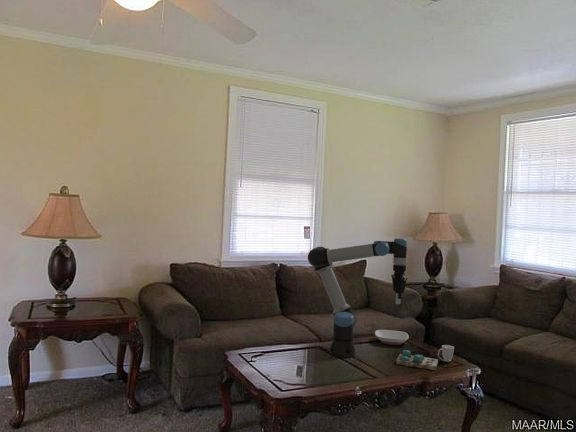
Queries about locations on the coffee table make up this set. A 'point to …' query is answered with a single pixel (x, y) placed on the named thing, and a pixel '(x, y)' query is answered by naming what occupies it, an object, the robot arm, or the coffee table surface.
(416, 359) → the button
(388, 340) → the bowl
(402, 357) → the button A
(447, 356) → the cup
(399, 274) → the robot arm
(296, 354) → the coffee table surface
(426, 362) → the board
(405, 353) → the button
